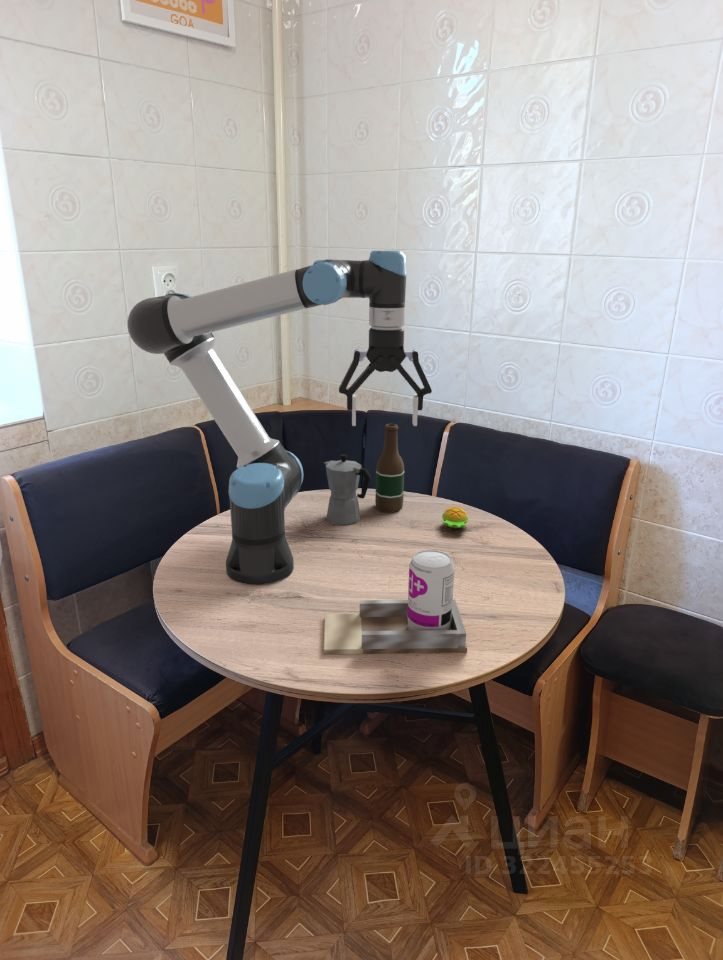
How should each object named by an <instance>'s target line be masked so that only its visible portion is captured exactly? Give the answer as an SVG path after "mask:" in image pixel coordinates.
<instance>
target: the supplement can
mask: <svg viewBox="0 0 723 960" xmlns="http://www.w3.org/2000/svg"><path fill="white" fill-rule="evenodd" d="M408 565H409V566H408V588H407V589H408V591H407V593H408V595H407V600H408V611H407V627H408V629H409V631H421V630H450V629H451V616H452V601H453V600H454V599H453V597H454V583H455V581H454V580H455V571H456V570H455V565H454V563H453V560H452V557H451V555H449V554H448V553H446V552H443V551H440V550H434V549H425V550H420V551H418V552H415V554H414V555H413V556H412V559H411V560H410V562H409V564H408Z"/></svg>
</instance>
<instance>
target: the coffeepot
mask: <svg viewBox="0 0 723 960" xmlns="http://www.w3.org/2000/svg"><path fill="white" fill-rule="evenodd" d="M347 457H348V455H347V454H340V460H327V461H324V462H323V464H324V465H325V471H326V478H327V483H328V489H329V491H330V496H329V500H328V506H327V512H326V517H325V519H327V521H328V522H329V523H331V524H334V525H338V526H349V525H354V524H357V523H358V522H359V521H360V519H361V510H360V505H359V499H364V498H366V495H367V491H368V488H369V485H370V481H371V479H372V476H371V474H370V473H369V471H368V469H365V468H364V467H362V466H363V465H362V464H360V463H358V462H357V461H355V460H347ZM360 476H363V477H364V479H363V482H362V483H363V484H362V487H361V490H360V491H361V492H360V493H357V491H358V488H359V482H360V478H361V477H360Z"/></svg>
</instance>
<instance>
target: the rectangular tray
mask: <svg viewBox="0 0 723 960" xmlns="http://www.w3.org/2000/svg"><path fill="white" fill-rule="evenodd" d="M407 611H408V599H386V600H385V599H381V600H378V599H375V600H373V599H372V600H371V599H369V600H366V599H364V600H359V613H325V614H324V637H323V638H324V639H323V654H324V655H366V654H367V655H369V654H370V655H374V654H376V655H377V654H378V655H379V654H380V655H381V654H384V655H385V654H389V655H391V654H454V653H455V654H458V653H460V654H461V653H464V654H465V653H466V654H467V653H468V645H467V642H466V641H467V632H466V628H465V626H464V623H463V620H462V617H461V614H460V610H459V608H458V605H457V601H456V599H453V601H452V616H451V629H450V630H421V631H409V629H408V627H407Z"/></svg>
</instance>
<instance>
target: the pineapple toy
mask: <svg viewBox="0 0 723 960" xmlns="http://www.w3.org/2000/svg"><path fill="white" fill-rule="evenodd" d="M441 517H442V520H443V522H442V523H443V525H445V526H447V527H449V528H451V529H460V528H465V527H467V525H466V523H468V521H469V516H468V513H467V512H466V511H465V510H464V509H463V508H461V507H459V506H450V507H447V508H446V509H445V510H444V511H443V513H441Z"/></svg>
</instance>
